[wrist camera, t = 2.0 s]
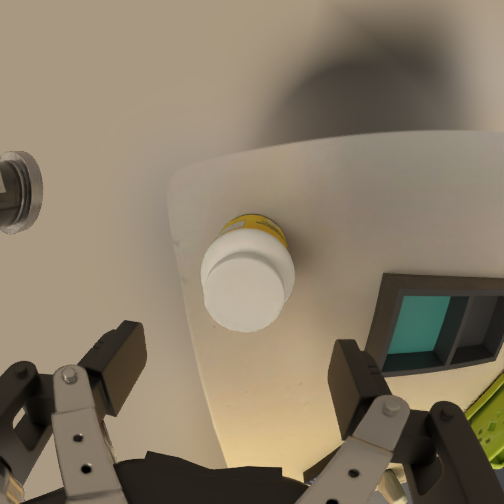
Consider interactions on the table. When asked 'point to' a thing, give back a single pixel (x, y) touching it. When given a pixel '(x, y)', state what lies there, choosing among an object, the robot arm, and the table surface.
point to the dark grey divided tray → (436, 323)
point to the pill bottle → (247, 274)
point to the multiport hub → (317, 468)
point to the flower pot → (490, 422)
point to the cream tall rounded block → (392, 488)
